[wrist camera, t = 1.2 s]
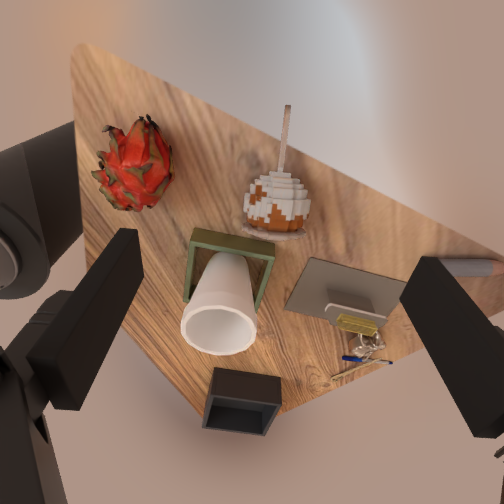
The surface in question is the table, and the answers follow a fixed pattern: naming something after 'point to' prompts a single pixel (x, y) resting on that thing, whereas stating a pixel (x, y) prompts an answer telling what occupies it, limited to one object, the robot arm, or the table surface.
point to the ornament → (366, 345)
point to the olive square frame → (235, 247)
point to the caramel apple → (277, 201)
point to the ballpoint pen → (364, 360)
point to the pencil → (473, 267)
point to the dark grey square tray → (242, 402)
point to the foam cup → (221, 308)
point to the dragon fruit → (135, 166)
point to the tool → (351, 370)
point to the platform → (345, 296)
